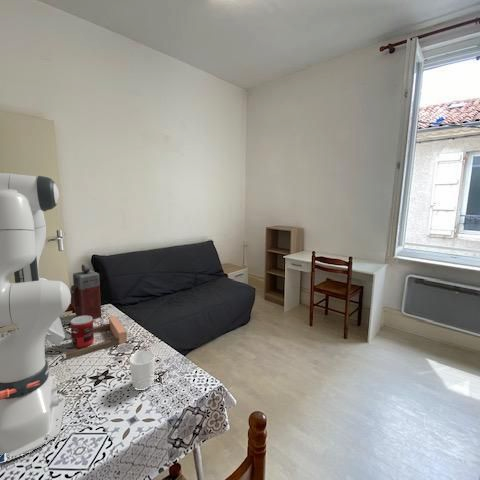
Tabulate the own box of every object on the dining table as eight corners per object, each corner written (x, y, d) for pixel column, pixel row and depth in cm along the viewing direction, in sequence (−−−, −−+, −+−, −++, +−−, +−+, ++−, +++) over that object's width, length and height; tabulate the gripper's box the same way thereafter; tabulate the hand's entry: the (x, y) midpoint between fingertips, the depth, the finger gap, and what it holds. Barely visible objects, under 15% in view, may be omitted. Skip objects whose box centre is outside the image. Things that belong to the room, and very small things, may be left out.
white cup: (129, 394, 86) (128, 366, 84) (132, 378, 94) (131, 352, 92) (155, 390, 88) (154, 362, 86) (155, 375, 96) (155, 349, 94)
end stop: (126, 342, 116) (126, 331, 115) (119, 344, 114) (118, 333, 113) (116, 325, 130) (115, 315, 129) (109, 327, 128) (108, 317, 127)
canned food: (73, 340, 115) (71, 316, 114) (94, 337, 119) (93, 314, 117) (70, 350, 109) (68, 325, 107) (93, 346, 112) (91, 321, 110)
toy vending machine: (70, 318, 135) (66, 264, 131) (94, 311, 144) (90, 260, 139) (78, 324, 130) (73, 268, 125) (101, 316, 138) (98, 264, 134)
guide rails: (119, 344, 114) (119, 339, 114) (66, 359, 103) (66, 354, 102) (109, 327, 128) (109, 323, 127) (61, 339, 116) (61, 335, 116)
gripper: (46, 323, 96) (79, 340, 103) (43, 304, 111) (72, 320, 119) (31, 338, 93) (66, 355, 101) (30, 317, 109) (61, 332, 117)
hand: (69, 336), depth 110 cm, fingers closed, pressing on canned food
